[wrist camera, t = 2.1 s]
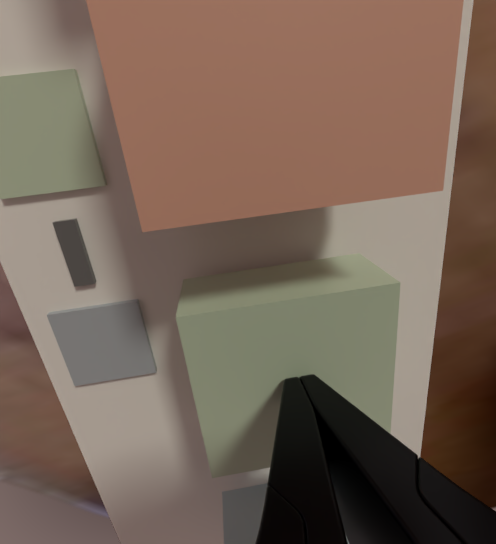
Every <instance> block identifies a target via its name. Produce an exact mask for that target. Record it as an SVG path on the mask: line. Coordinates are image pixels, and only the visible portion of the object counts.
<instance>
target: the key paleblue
mask: <svg viewBox="0 0 496 544" xmlns="http://www.w3.org/2000/svg"><path fill="white" fill-rule="evenodd" d="M267 487H268V486H267V483H266V484H261V485H255V486H250V487H245V488H240V489H234V490H229V491H224V492H222V502H223V530H224V544H255V542H256V539H257V535H258V531H259V527H260V522H261V516H262V511H263V506H264V501H265V494H266V488H267ZM345 535H346V534H345ZM346 539H347V537H346ZM347 543H348V544H349V542H348V539H347Z"/></svg>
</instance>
